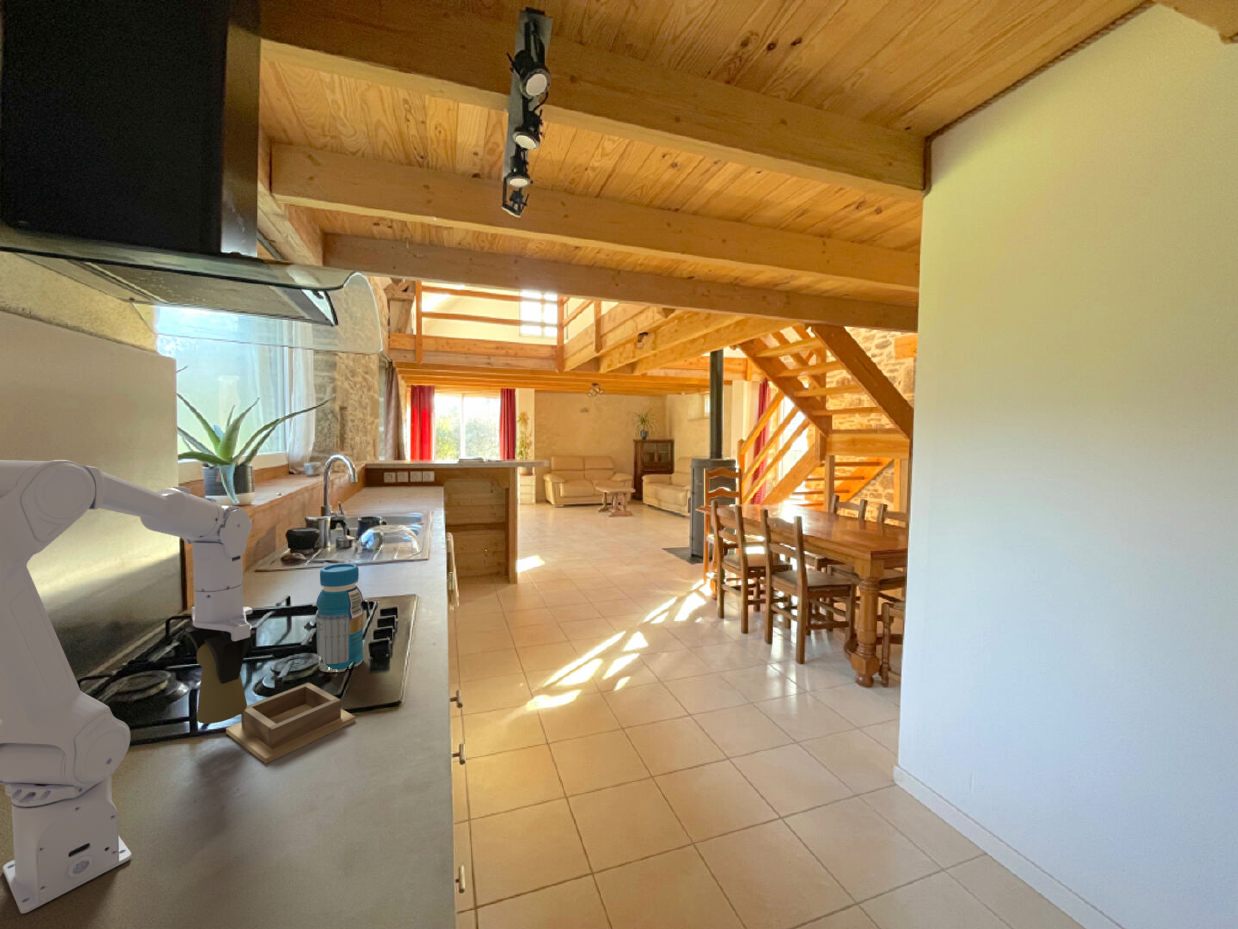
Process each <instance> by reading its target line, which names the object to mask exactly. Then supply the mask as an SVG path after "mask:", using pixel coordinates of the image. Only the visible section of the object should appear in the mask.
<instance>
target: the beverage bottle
mask: <svg viewBox="0 0 1238 929" xmlns="http://www.w3.org/2000/svg"><path fill="white" fill-rule="evenodd" d="M359 571H360V570H359V566H358V565H357V564H355V563H349V562H348V563H336V564H335V563H334V564H331V565H326V566H323V567H322V568H320V572H319V580H320V581H319V584H320V586H321V587H322V589H321V591H320V592H319V594H318V596H317V599H316V602H315V606H316V607H317V611H316V613H315V622H316V652H317V653H316V656H317V655H319V656H321V658H322V660H323V662H324V663H325V664H326V665H327V666H328V667H330V668H332V669H337V670H338V671H339V672H338V673H343V672H346V671H345V670H346V669H347V667H348V666H349V665H350V664H351V663H352V662H355V666H356V667H355V668H357V667H358V666H359V665H361V664H362V662H363V660H364V651H363V646H364V644H363V642H364V639H363V637H364V636H363V629H364V628H363V626H364V625H363V624H364V623H363V622H364V620H363V619H364V618H363V616H364V611H365V610H364V607H363V605H362V602H363V601H364V600H363V598H364V596H363V594H362V592H361V590H360V588H359V587H358V586H357V583H358V582H359V578H360V577H359V576H360V575H359Z"/></svg>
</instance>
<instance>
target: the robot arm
mask: <svg viewBox="0 0 1238 929" xmlns="http://www.w3.org/2000/svg"><path fill="white" fill-rule="evenodd" d="M191 492H192V490H191V488H188V487H186V486H173V487H172V488H171V487H169V488H163V489H160V490H157V491H153V490H151V489H148V488H146V487H143V486H141V485H138V484H135V483H134V482H130V481H127V480H125V479H122V478H120V477H117V476H115V475H112V474H110V473H107V472H104V471H102V470H100V468H99V467H97V466H92V465H91V466H90V465H84V464H83V465H81V464H79V463H77V462H75V461H71V460H66V459H54V460H47V461H46V460H45V461H44V460H15V459H12V460H11V459H0V785H4V789H5V790H4V792H5V793H4V794H5V796H8V797H9V798H10V799H11V800H10V801H11V817H12V818H11V820H12V821H11V822H12V837H13V840H12V841H13V842H12V843H13V856H14V857H13V858H14V859H13V860H10V861H8V862H7V863H5V864H4V865H2V872H3V874H4V877H5V879H6V881H7V884H8V887H9V888H10V891H11V894H12V896H13V898H14V900H15V903H16V905H17V907H18V910H19V913H20V914H26V913H29V912H31V911H33V910H35V909H36V908H39V907H41V906H43V905H44V904H47V903H48V902H51V901H53V900H55V899H56V898H58V897H60V896H62V895H64V894H66V893H68V892H70V891H72V890H73V889H75V888H78V887H79V886H81V885H83V884H85V883H88V882H89V881H92V880H93V879H95V878H97V877H99V876H101V875H102V874H104V873H107V872H108V871H112V870H113V869H114V868H117V867H119V866H120V865H122V864H125V863H126V862H127V861H130V860H131V858H132V852H131V850H130V849H129V848H128V846H127V845H126V843H125V842H124V840H123V839H122V837H120V835H119V816H118V814H119V813H118V812H119V811H118V809H117V807H116V805H115V804H114V802H113V795H112V793H113V792H112V774H114V773H115V772H117V771H118V769H117V768H118V767H119V766H120V765H121V763H122V762H123V760H124V758H125V757H126V755H127V753H128V751H129V747H130V743H131V730H130V727H129V726H128V724H127V723H125V721H122V720H120V719H119V718H116V717H115V716H114V715H113V713H112V711H111V709H110V707H109V706H108V705H106V704H105V703H103V702H102V701H100V700H97V699H96V698H94V697H92V696H90V695H88V694H86V693H84V692H83V691H82V690H81V688H80V687H79V684H78V682H77V679H76V677H75V675H74V672H73V670H72V667H71V666H70V663H69V661H68V659H67V656H66V653H65V651H64V649H63V647H62V645H61V642H60V639H59V638H58V635H57V633H56V630H55V628H54V626H53V624H52V622H51V619H50V617H49V614H48V613H47V610H46V607H45V605H44V603H43V600H42V599H41V596H40V594H39V591H38V590H37V586H36V585H35V582H34V579H33V578H32V576H31V573H30V571H29V569H28V567H27V565H28V563H29V561H30V560H31V559H32V557H33V556H35V555H36V554H39V553H40V552H42V551H43V550H45V548H47V547H48V546H49V545H50V544H52V543H53V542H54V541H55V540H56V539H57V538H58V537H60V536H61V535H62V534H63V533H64V532H65V531H66V530H68V529H69V528H70V527H71V526H72V525H73V524H74V523H76V522H77V521H78V520H79V519H80V518H82V517H83V515H85V513H87V512H88V510H93V511H96V510H98V509H102V510H107V511H112V512H115V513H121V514H125V515H130V516H133V517H139V518H140V521H141V524H142V525H143V526H144V527H145V528H146V529H147V530H150V531H152V532H157V533H161V534H165V535H170V536H173V537H177V538H181V539H182V540H183V541H184V542H185V543H186V545H190V544H192V545H191V546H192V570H193V572H192V573H193V606H191V619H192V626H189V627H187V628H185V629H184V632H185V634H186V635H187V636H188V638H189V639H190V641H191V642H192V644H193V646H194V648H195V651H196V653H197V652H198V650H199V648H200V647H201V646H202V645H203V644H205V643H206V644H207V646H208V647H209V649H210V650H211V652H212V654H213V657H214V660H215V664H216V669H217V675H218V678H219V681H220V683H222V684H225V683H227V682H230V681H233V680H236V679H238V678H239V675H241V672H242V668H243V663H244V659H245V656H246V653H247V651H248V650H249V649H248V648H249V647H250V645H251V643H252V641H253V640H254V639H255V637H256V631H255V630H254V629H251V624H250V623H249V622H248V620H247V616H248V615H251V614H253V608H252V607H250V606H244V575H243V574H244V572H243V570H244V568H243V567H244V566H243V554H245V553H246V550H247V547H248V546H247V542H248V538H249V536H250V534H251V531H252V528H253V521H251V518H250V516H249V514H248V512H246V511H245V510H244V509H243V508H242V507H240V506H237V505H221V504H219V503H218V502H217V501H218V500H217V499H216V498H212V497H199V496H198V495H194V494H192V493H191Z"/></svg>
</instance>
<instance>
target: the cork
mask: <svg viewBox="0 0 1238 929" xmlns="http://www.w3.org/2000/svg"><path fill="white" fill-rule="evenodd" d="M196 661H197V664H198V665H199V666H200V667H201V675H200V683H199V684H200V685H199V693H198V701H197V702H198V703H197V712H196V721H197V722H198V723H200V724H205V725H206V724H207V725H209V724H210V725H211V724H217V723H222V722H224V721H228V720H231V719H233V718H235V717H237V716H239V715H241V713H242V712H243V711H244V710H245V709H246V707H247V706H248V703H247V698H246V694H245V690H244V689H245V688H244V686H243V681H242V676H241V675H242V674H240V675H239V678H238V679H236V680H233V681H230V682H227V683H225V684H222V683H220V681H219V678H218V675H217V669H216V664H215V660H214V657H213V654H212V652H211V650H210V649H209V647H208V646H207V644H206V643H205V644H203V645H202V646H201V647H200V648H199V650H198V652H197V651H196Z"/></svg>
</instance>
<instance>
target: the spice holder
mask: <svg viewBox="0 0 1238 929" xmlns="http://www.w3.org/2000/svg"><path fill="white" fill-rule="evenodd" d="M341 702H342V701H341V699H340V698H338V697H337V696H334V695H332V694H331V693H329V692H327V691H326V690H323V689H322V688H320V687H318V686H317V685H314V684H312V683H311V682H306V683H303V684H301V685H298V686H296V687H293V688H290V689H288V690H287V689H286V690H285V691H282V692H279V693H277V694H274V695H272V696H269V697H267V698H264V699H261V700H259V701H256V702H254V703H251V704H249V705H248V704H247V707H246V709H245V710H244V711H243V712H242V713H241V714H240V716H241V719H240V722H238V723H235V724H233V725H230V726H228V727H226V728H225V734H227V735H228V736H229V737H230V738H232V739H233V740H234V741H236V742H237V743H238V744H240V745H241V746H242V747H243V748H245V749H246V750H247V751H249V752H250V753H251V754H253V756H255V757H256V758H258V759H259V760H260V761H261V762H263V763H264V764H268V763H271V762H272V761H275V760H277V759H279V758H281V757H283V756H285V755H288V754H289V753H292V752H294V751H295V750H298V749H300V748H301V747H304V746H306V745H309V744H310V743H312V742H314V741H317V740H319V739H320V738H323V737H325V736H327V735H329V734H331V733H333V732H336V731H338V730H340V729H342V728H344V727H346V726H348V725H350V724H352V723H355V722H356V716H355V715H353V714H351V713H350V712H348V711H346V710H344V709H343V708H342V707H341V706H342V705H341V704H342V703H341Z"/></svg>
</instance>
